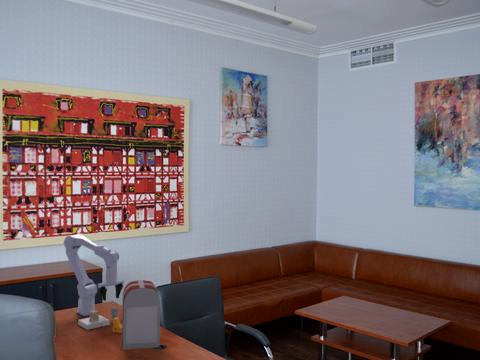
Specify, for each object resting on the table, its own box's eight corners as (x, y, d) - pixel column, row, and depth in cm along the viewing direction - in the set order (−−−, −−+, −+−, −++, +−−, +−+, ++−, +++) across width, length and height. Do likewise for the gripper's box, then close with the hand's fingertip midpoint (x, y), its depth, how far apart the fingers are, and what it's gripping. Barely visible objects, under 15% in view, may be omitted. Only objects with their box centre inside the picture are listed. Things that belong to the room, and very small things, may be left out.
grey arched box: (122, 349, 210) (123, 289, 210) (121, 336, 227) (122, 280, 227) (160, 347, 215) (161, 287, 214) (156, 333, 232) (157, 278, 231)
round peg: (110, 322, 247) (110, 308, 247) (115, 320, 250) (116, 307, 249) (113, 323, 245) (113, 310, 245) (118, 322, 247) (119, 309, 247)
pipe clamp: (138, 332, 233) (138, 319, 233) (133, 335, 229) (133, 322, 229) (118, 329, 238) (118, 316, 238) (112, 331, 234) (112, 318, 234)
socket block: (78, 324, 242) (78, 319, 242) (100, 320, 250) (100, 315, 250) (86, 329, 235) (87, 324, 235) (109, 324, 243) (109, 320, 243)
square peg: (89, 324, 242) (89, 311, 242) (95, 323, 245) (95, 310, 244) (92, 326, 240) (92, 312, 240) (98, 325, 242) (98, 311, 242)
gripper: (102, 277, 248) (101, 303, 249) (127, 273, 258) (126, 298, 258) (96, 274, 253) (95, 300, 254) (120, 271, 263) (120, 295, 264)
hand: (110, 299), depth 256 cm, fingers open, 7 cm apart
